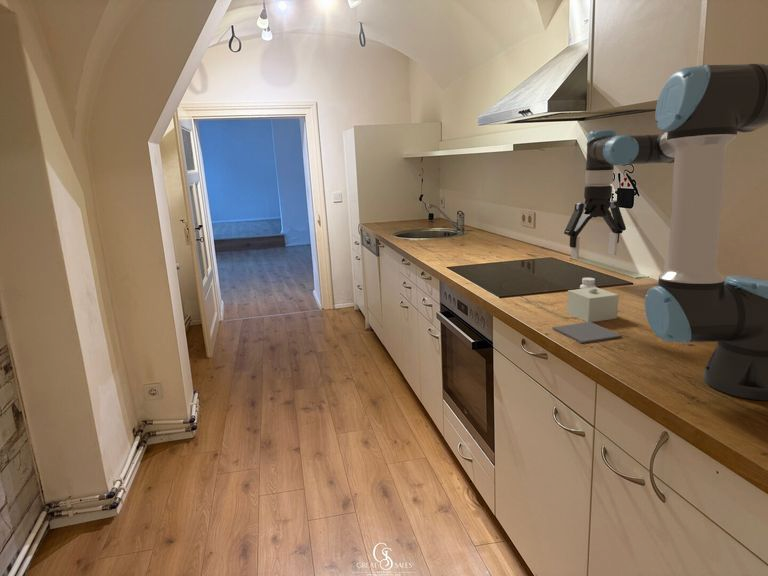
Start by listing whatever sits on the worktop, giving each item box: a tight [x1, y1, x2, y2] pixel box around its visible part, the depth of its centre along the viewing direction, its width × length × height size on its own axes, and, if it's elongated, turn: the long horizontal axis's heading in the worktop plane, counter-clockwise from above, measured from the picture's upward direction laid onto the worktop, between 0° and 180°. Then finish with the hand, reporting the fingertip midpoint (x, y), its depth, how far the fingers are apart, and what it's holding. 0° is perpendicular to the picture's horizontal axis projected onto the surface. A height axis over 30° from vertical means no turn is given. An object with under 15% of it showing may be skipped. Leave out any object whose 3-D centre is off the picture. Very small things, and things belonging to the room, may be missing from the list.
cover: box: [566, 286, 620, 323], centre depth 158 cm, size 10×10×8 cm
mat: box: [552, 321, 623, 344], centre depth 143 cm, size 13×13×1 cm
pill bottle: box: [579, 277, 597, 289], centre depth 170 cm, size 5×5×9 cm
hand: (593, 256), depth 154 cm, fingers open, 13 cm apart
